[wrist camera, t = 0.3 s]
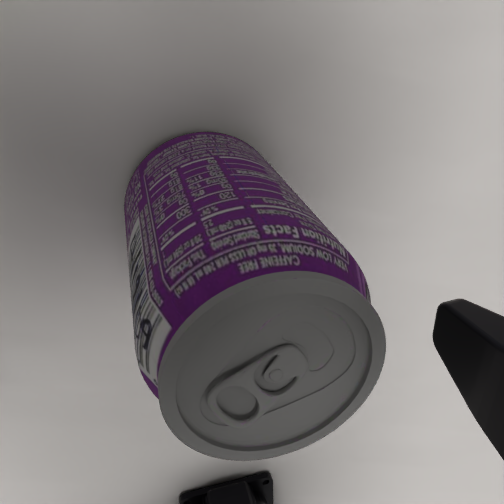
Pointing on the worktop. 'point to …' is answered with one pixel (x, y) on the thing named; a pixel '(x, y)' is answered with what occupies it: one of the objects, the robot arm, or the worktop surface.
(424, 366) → the worktop surface
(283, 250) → the beverage can
